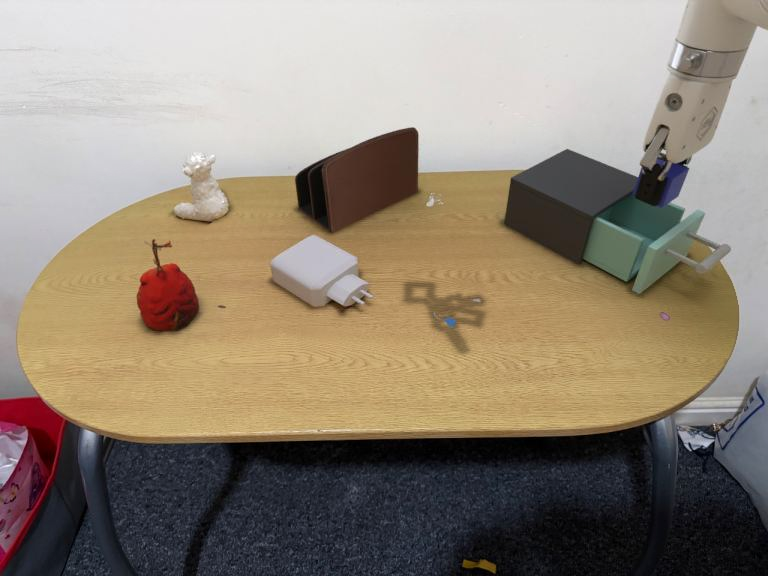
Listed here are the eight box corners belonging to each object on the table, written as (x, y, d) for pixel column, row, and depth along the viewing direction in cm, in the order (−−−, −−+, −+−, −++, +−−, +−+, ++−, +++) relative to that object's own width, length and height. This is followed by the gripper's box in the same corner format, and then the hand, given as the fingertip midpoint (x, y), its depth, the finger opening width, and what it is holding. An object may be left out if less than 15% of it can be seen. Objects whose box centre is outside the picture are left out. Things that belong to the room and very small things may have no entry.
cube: (648, 184, 76) (658, 156, 74) (678, 196, 74) (689, 167, 71) (632, 195, 74) (641, 166, 71) (661, 208, 72) (673, 179, 69)
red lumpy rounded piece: (189, 295, 79) (158, 208, 69) (212, 319, 75) (183, 230, 65) (139, 320, 75) (99, 231, 65) (161, 347, 71) (122, 257, 61)
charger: (345, 331, 72) (274, 285, 80) (390, 296, 77) (318, 256, 85) (343, 306, 69) (268, 260, 77) (389, 271, 74) (315, 231, 82)
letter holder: (418, 195, 98) (420, 122, 89) (331, 238, 89) (323, 160, 79) (383, 175, 104) (382, 105, 95) (298, 213, 95) (287, 139, 85)
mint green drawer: (724, 273, 78) (747, 229, 73) (678, 315, 72) (699, 270, 67) (608, 219, 90) (620, 177, 84) (559, 251, 83) (569, 208, 78)
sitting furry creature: (218, 194, 100) (202, 133, 92) (247, 209, 96) (233, 147, 88) (174, 216, 95) (153, 153, 87) (202, 233, 91) (183, 169, 83)
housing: (630, 232, 88) (647, 180, 82) (577, 269, 81) (592, 216, 75) (556, 197, 97) (567, 148, 90) (503, 228, 90) (510, 177, 83)
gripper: (702, 86, 56) (648, 230, 68) (770, 49, 64) (712, 184, 76) (636, 67, 60) (596, 206, 72) (708, 36, 68) (661, 165, 80)
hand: (656, 193), depth 74 cm, fingers closed on cube, 4 cm apart
